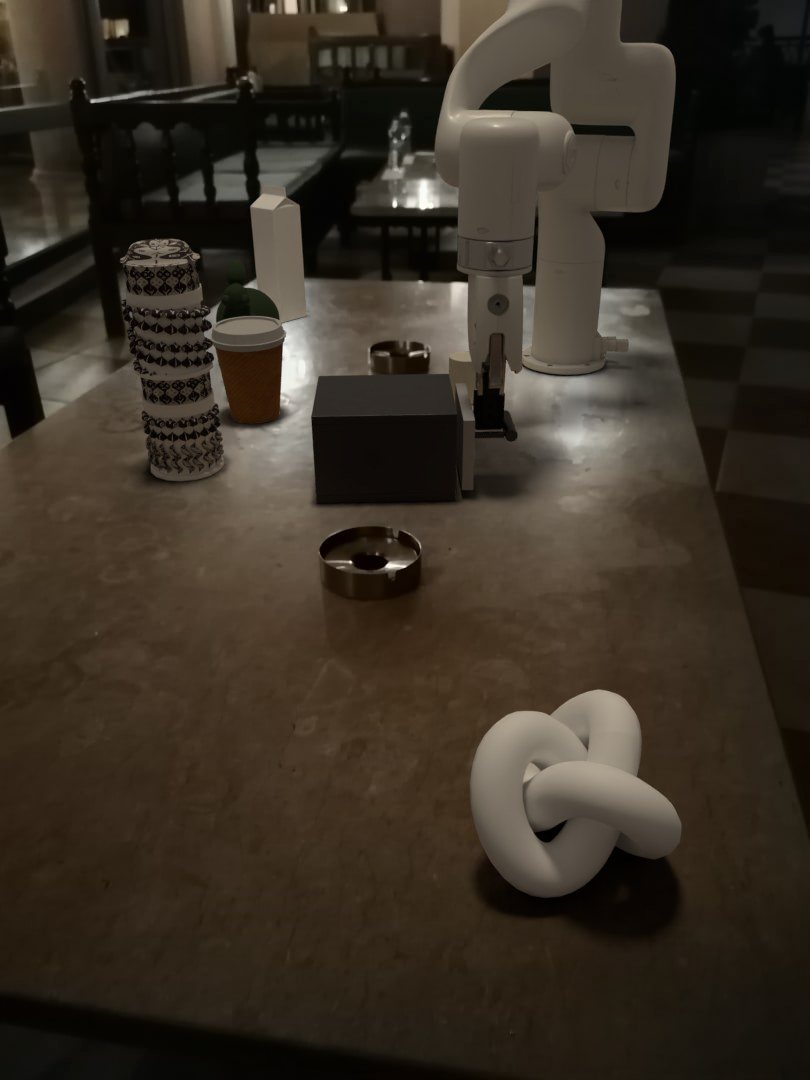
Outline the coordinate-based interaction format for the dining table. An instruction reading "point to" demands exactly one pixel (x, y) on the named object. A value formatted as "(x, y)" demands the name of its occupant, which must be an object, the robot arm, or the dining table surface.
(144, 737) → the dining table surface
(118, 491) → the dining table surface
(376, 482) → the dark gray cabinet
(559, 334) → the robot arm
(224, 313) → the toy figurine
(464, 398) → the drawer
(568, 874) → the white knot sculpture
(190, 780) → the dining table surface
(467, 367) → the cylinder
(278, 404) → the disposable coffee cup
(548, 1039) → the dining table surface
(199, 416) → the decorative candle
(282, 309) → the milk
